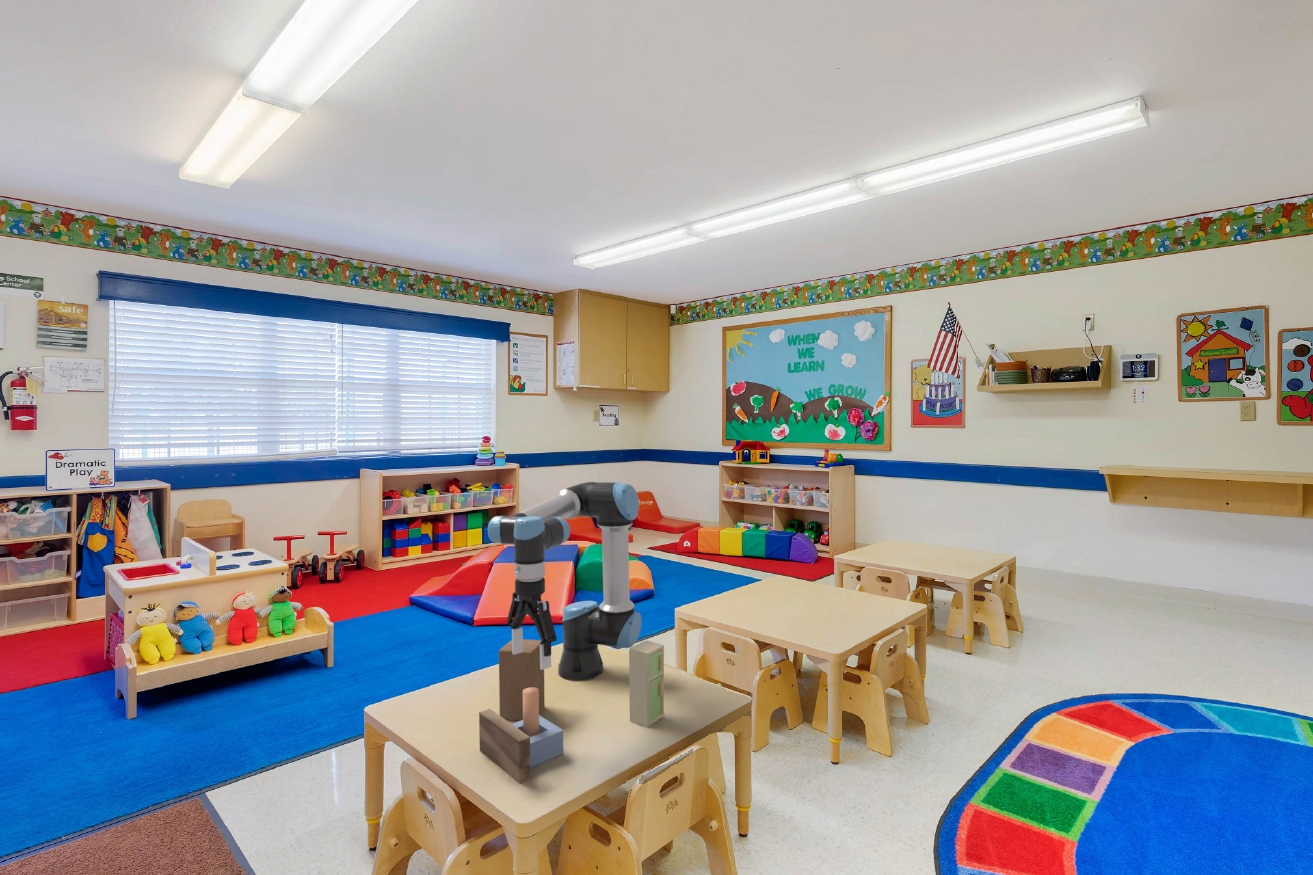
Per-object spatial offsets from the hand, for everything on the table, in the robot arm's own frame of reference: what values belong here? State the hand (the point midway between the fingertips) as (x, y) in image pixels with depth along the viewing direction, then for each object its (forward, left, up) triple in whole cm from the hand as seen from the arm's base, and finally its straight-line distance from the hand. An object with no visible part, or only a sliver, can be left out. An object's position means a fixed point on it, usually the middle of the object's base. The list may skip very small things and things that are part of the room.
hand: (531, 660), depth 161 cm
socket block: (+1, 0, -24) cm, 24 cm away
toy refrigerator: (-33, +7, -24) cm, 42 cm away
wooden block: (-9, -21, -24) cm, 33 cm away
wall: (+8, 0, -24) cm, 25 cm away
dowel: (0, 0, -22) cm, 22 cm away
